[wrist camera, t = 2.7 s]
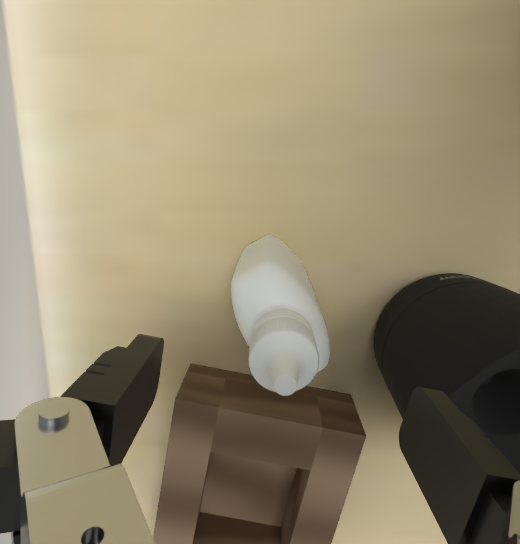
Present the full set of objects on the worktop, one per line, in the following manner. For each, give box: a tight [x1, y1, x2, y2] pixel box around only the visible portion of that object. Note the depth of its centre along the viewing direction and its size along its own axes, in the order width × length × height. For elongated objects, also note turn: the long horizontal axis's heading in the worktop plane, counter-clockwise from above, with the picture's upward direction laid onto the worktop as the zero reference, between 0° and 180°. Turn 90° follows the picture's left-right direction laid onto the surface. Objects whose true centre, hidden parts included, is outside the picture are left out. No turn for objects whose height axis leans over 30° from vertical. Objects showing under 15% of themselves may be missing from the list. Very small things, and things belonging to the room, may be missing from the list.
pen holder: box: [374, 274, 520, 473], centre depth 18 cm, size 9×9×10 cm
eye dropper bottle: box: [231, 235, 330, 396], centre depth 17 cm, size 4×6×12 cm
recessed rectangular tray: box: [153, 364, 366, 544], centre depth 24 cm, size 14×11×4 cm
